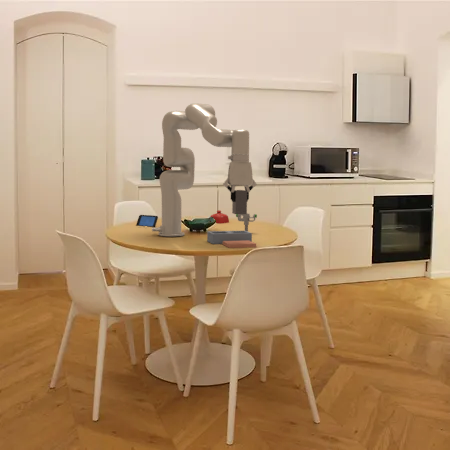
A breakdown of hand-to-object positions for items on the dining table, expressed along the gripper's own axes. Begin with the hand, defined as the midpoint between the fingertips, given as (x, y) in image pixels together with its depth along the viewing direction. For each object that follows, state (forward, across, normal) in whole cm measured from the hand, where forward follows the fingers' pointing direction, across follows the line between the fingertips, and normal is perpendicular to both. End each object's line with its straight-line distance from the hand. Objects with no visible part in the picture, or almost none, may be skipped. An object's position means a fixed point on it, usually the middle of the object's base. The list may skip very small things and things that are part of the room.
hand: (239, 201), depth 280 cm
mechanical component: (+20, +16, +42) cm, 49 cm away
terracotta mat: (+19, 0, 0) cm, 19 cm away
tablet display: (+20, -31, +73) cm, 82 cm away
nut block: (+5, 0, 0) cm, 5 cm away
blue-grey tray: (+19, -1, +12) cm, 23 cm away
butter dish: (+20, +13, +85) cm, 88 cm away
